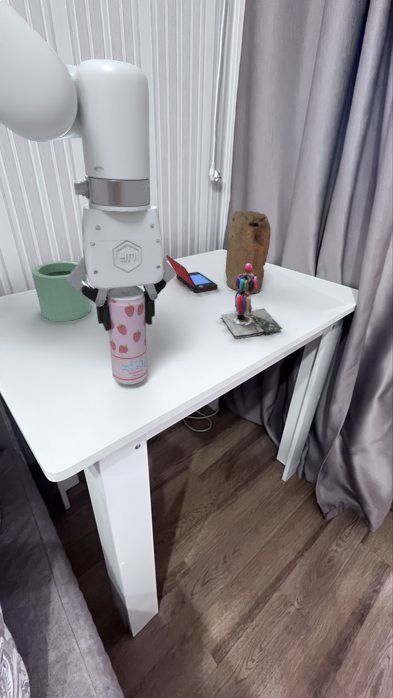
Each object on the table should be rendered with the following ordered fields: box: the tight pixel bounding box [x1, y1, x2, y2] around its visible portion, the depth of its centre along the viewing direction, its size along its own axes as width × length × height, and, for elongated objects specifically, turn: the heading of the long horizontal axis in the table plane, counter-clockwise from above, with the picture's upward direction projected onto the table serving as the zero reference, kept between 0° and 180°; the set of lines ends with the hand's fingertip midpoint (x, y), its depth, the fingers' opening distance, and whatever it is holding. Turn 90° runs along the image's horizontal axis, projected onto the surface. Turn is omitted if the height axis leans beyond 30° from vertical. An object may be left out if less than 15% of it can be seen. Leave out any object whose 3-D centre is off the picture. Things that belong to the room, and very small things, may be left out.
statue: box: [220, 263, 283, 340], centre depth 70 cm, size 11×9×15 cm
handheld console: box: [165, 255, 219, 293], centre depth 92 cm, size 12×11×7 cm
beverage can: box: [105, 286, 148, 385], centre depth 52 cm, size 6×6×15 cm
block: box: [224, 210, 272, 294], centre depth 88 cm, size 11×8×20 cm
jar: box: [31, 260, 92, 322], centre depth 74 cm, size 11×11×10 cm
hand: (127, 322), depth 50 cm, fingers closed on beverage can, 5 cm apart
